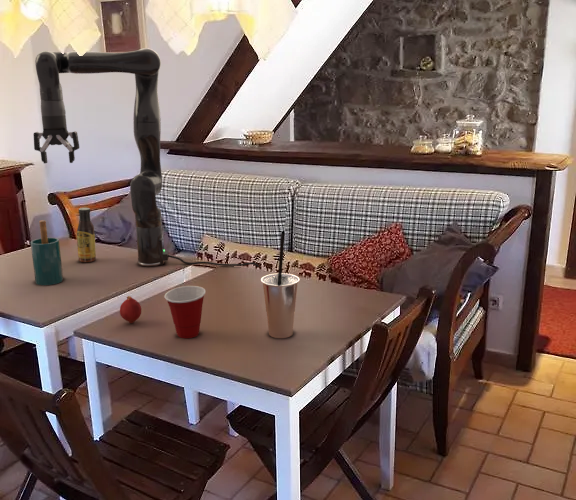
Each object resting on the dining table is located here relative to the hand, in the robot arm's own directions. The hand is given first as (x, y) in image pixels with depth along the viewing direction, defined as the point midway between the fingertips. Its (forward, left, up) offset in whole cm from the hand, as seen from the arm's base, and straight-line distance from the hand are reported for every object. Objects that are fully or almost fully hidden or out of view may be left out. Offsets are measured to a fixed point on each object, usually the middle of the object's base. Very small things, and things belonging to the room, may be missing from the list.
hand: (58, 162), depth 217 cm
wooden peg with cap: (+4, +12, -37) cm, 39 cm away
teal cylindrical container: (+4, +12, -38) cm, 40 cm away
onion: (-29, +53, -38) cm, 72 cm away
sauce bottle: (-4, -11, -38) cm, 40 cm away
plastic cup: (-45, +63, -38) cm, 86 cm away
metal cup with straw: (-70, +66, -38) cm, 104 cm away
